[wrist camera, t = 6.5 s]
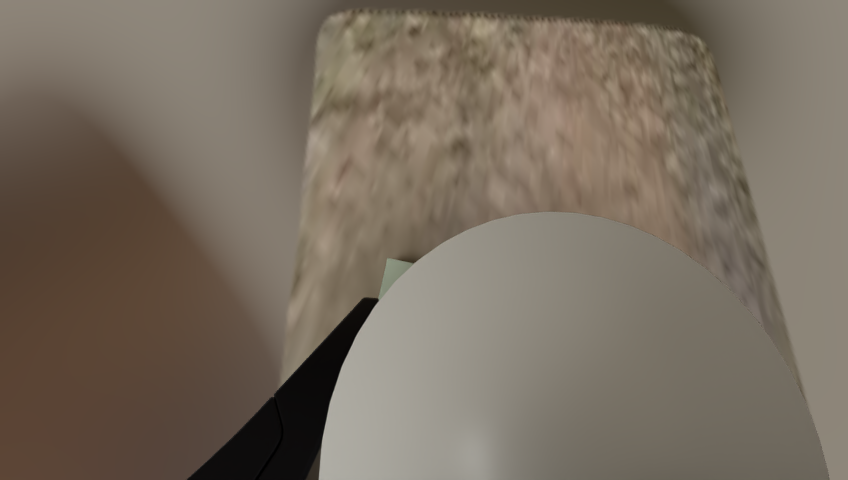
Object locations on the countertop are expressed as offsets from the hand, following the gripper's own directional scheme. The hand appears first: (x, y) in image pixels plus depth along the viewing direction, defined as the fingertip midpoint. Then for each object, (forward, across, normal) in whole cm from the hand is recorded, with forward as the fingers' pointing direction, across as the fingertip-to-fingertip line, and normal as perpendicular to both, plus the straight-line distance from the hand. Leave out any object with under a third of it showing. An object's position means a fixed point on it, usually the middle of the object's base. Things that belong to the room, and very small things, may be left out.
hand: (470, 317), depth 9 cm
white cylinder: (+4, 0, +6) cm, 7 cm away
